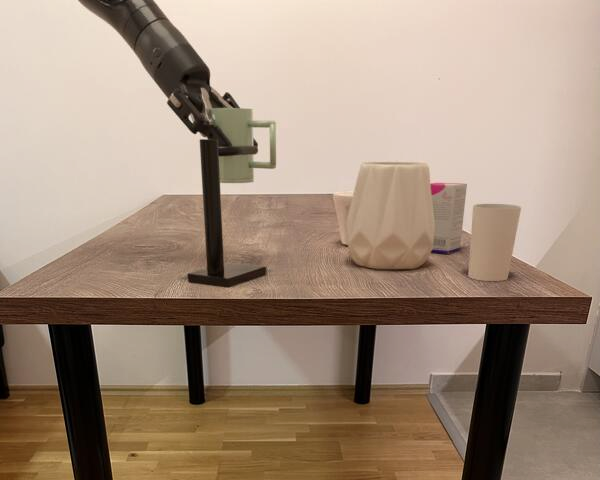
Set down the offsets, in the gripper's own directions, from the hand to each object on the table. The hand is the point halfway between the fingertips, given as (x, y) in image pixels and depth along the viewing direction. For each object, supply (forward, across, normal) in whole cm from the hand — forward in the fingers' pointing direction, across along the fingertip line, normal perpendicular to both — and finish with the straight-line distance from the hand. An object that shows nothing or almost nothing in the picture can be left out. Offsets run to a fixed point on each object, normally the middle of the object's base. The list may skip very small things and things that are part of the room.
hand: (240, 150), depth 95 cm
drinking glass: (+38, -10, +14) cm, 42 cm away
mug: (+3, 0, -3) cm, 4 cm away
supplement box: (+29, -28, +5) cm, 41 cm away
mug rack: (+14, +8, -9) cm, 19 cm away
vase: (+26, -12, +2) cm, 29 cm away
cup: (+18, -27, -6) cm, 33 cm away
